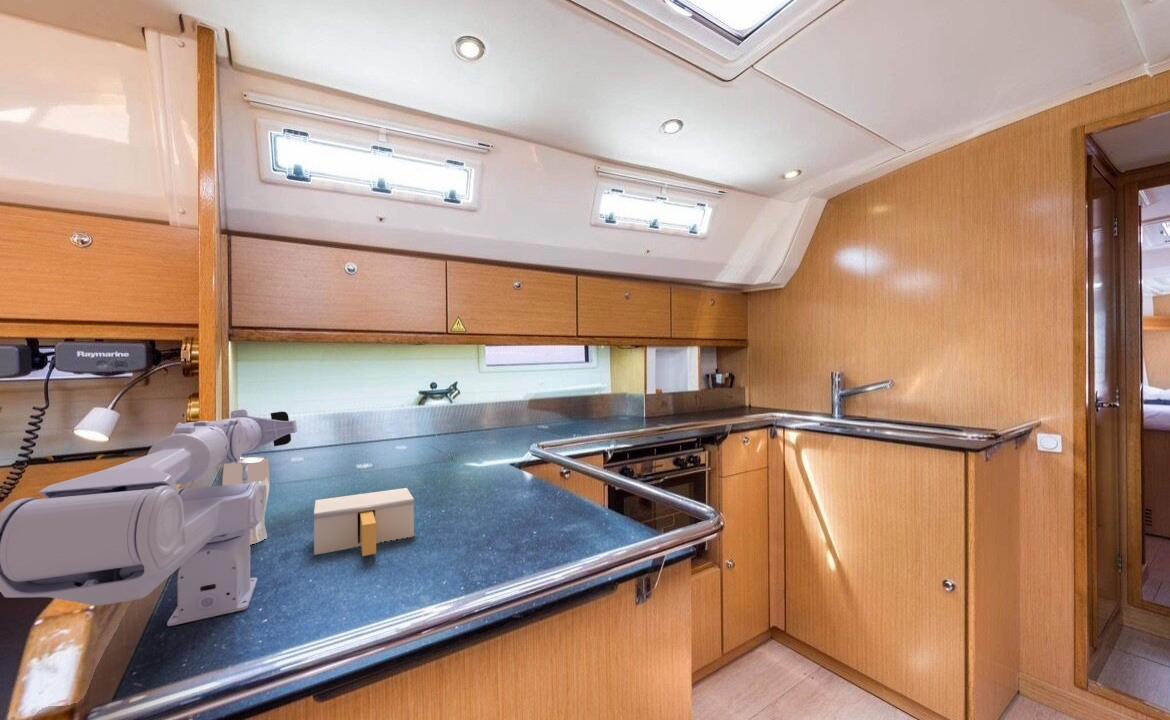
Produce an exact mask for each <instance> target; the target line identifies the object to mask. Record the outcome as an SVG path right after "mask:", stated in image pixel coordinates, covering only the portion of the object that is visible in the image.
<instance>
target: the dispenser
mask: <svg viewBox="0 0 1170 720" xmlns="http://www.w3.org/2000/svg"><path fill="white" fill-rule="evenodd" d="M414 507H415V498H414V497H413V495H412V494H411V493H410V491H409V489H408V487H405V488H404V487H403V488H396V489H389V490H387V489H386V490H381V491H375V492H373V491H372V492H366V493H358V494H351V495H344V496H342V495H341V496H338V497H337V496H336V497H329V498H322V499H315V503H314V510H313V555H314V556H316V555H322V554H326V553H332V552H339V551H343V550H348V549H354V547H355V548H359V546H360V547H361V542H360V536H359V530H358V513H359V512H366V511H372V510H373V514H374V517H375V521H376V544H381V543H380V542H382V543H385V542H384V541H387V542H391V541H390V540H392V541H397V540H396V539H398V540H401V539H402V538H403V539H406V538H407V537H408V538H413V536H414V537H415V508H414Z"/></svg>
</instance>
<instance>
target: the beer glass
mask: <svg viewBox="0 0 1170 720" xmlns="http://www.w3.org/2000/svg"><path fill="white" fill-rule="evenodd" d="M270 473H271V472H270V465H269V457H268V456H261V455H260V456H259V455H258V456H257V455H256V456H245V457H241V458H240V460H239V462H238V463H237V464H236V463H230V464H223V471H222V481H221V482H222V485H221V486H223V485H233V484H244V483H251V482H254V481H258V482H259V483H260V484H261V485H262V486H263V488H264V494H265V505H264V512H263V516H262V519H261V521H260V522H259V523H258V524H257V526H256V527H254V528H251V529H250V545H252V544H255V543H258V542H260V541H262V540H264V539H266V540H267V538H268V534H267V529H266V525H265V523H266V522H265V514H266V508H267V503H268V498H269V494H270V486H271V484H270V483H271V481H270V480H271V479H270ZM264 541H265V540H264ZM258 544H259V543H258ZM255 545H256V544H255ZM252 546H253V545H252Z"/></svg>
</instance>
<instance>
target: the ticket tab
mask: <svg viewBox="0 0 1170 720" xmlns="http://www.w3.org/2000/svg"><path fill="white" fill-rule="evenodd" d="M358 530H359V536H360V542H361V546H360V549H361V553H362V554H361V555H362V557H364V556H365V557H366V556H370V555H376V554H377V543H376V521H375V517H374V514H373V510H372V511H366V512H359V513H358Z"/></svg>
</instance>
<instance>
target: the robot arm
mask: <svg viewBox="0 0 1170 720" xmlns="http://www.w3.org/2000/svg"><path fill="white" fill-rule="evenodd" d="M297 432H298V428H297V421H296V419H295V420H290V419H289V415H288V413H287V412H286V411H276V412H270V418H267V417H266V418H264V417H258V416H253V415H250V414H249V413H248V410H246V409H242V408H241V409H236V410H231V412H230V418H225V419H217V420H212V421H209V420H198V421H197V420H196V421H191V422H189V421H188V422H185V423H181V422H178V423H177V424H176V425H175V427H174V429H173V431H172V433H171V434H170V435H167V436H165V437H163V438H161V439H159V440H157V442H155V443H154V444H153V445H152V446H151V447H150V448H149V450H148V453H147V455H144V456H140V457H137V458H135V459H132V460H130V461H129V460H128V461H127V462H123V463H121V464H117V465H114V466H112V467H109V468H106V469H103V470H99V471H97V472H92V473H88V474H86V475H81V476H78V477H75V478H70V479H68V480H64V481H59V482H57V483H52V484H49V485H47V486H46V487H44V488H42V489H41V490H39V491H38V492H37V493H38V494H40V495H42V496H44V497H46V498H39V497H36V496H35V497H24V498H19V499H16V500H15V501H12V502H11V503H9V504H8V505H6V506H5V507H4V508H3V509H2V510H1V511H0V593H1V594H2V596H3V597H4V598H52V599H58V600H62V601H68V602H74V603H78V604H79V603H80V604H83V605H84V604H85V605H91V606H95V607H97V606H106V605H111V604H117V603H124V602H130V601H135V600H142V599H144V598H145V597H147V596H148V595H150V594H151V593H152V592H153V591H154V590H155V589H156V588H157V587H159V586H160V585H161V584H162V583H163V582H165V581H166V580H167V579H168V578H169V577H170V576H171V575H172V574H174V573H175V572H176V571H177V570H178V574H177V607H175V610H174V611H173V613H172V615H171V616H170V617H169V619H168V620H167V624H166V625H167V626H168V627H172V626H177V625H181V624H186V623H190V622H195V621H199V620H204V619H208V618H213V617H216V616H217V617H218V616H222V615H225V614H227V615H228V614H231V613H235V612H240V611H245V610H246V609H248V607H249V605H250V602H251V600H252V596H253V594H254V592H255V588H256V585H257V582H258V578H257V577H251V546H250V529H251V528H254V527H256V526H257V524H258V523H259V522H260V521H261V519H262V516H263V512H264V505H265V494H264V488H263V486H262V485H261V484H260V483H259V482H258V481H254V482H251V483H244V484H233V485H223V486H222V485H215V486H204V487H194V488H192V487H191V488H187V487H186V488H184V487H182V488H181V487H180V488H178V485H183V484H184V485H185V484H188V483H191V482H194V481H195V480H197V479H199V478H201V476H203V475H205V474H206V473H208V472H209V471H211V470H212V469H214V468H215V467H217V466H218V465H224V464H230V463H236V464H237V463H238V462H239V460H240V458H242V456H243V455H245V454H249V453H252V452H254V451H256V450H258V449H260V448H262V447H265V446H266V445H268V444H271V442H273V446H274V447H278V446H279V447H280V446H285V445H288V444H289V443H291V440H292V434H294V433H297Z"/></svg>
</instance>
